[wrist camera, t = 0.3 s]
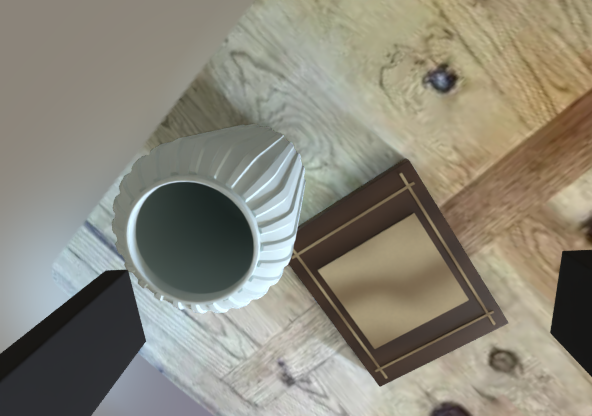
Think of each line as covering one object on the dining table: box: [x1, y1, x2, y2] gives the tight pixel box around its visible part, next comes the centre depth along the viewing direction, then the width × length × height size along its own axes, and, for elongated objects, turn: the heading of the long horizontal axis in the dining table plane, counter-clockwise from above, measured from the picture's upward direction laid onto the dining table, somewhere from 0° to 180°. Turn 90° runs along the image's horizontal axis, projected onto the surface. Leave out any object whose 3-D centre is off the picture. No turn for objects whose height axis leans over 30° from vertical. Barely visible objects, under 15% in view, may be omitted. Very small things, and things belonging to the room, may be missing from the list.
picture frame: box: [289, 158, 508, 386], centre depth 43 cm, size 24×18×2 cm
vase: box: [112, 124, 305, 313], centre depth 30 cm, size 12×12×22 cm
